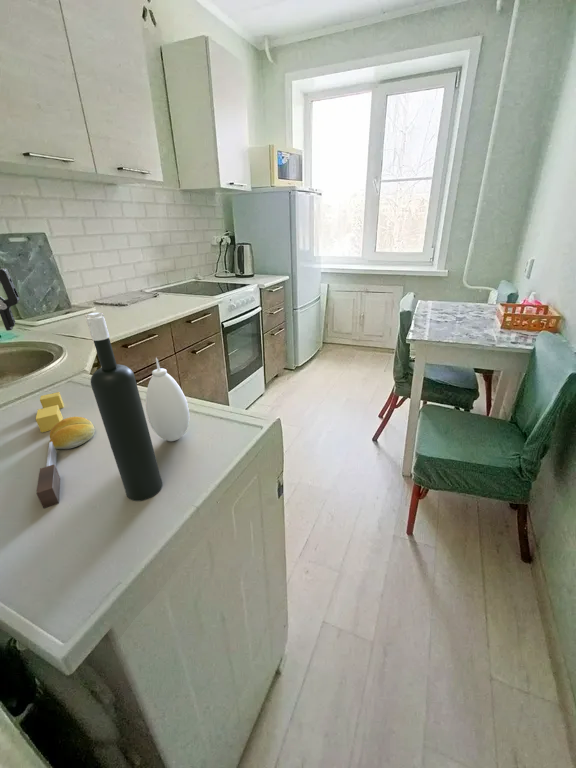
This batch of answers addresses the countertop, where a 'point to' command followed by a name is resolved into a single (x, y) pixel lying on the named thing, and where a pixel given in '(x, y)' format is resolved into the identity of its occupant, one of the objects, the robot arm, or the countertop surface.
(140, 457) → the wine bottle
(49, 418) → the butter block
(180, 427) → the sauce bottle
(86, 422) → the bread roll
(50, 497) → the knife
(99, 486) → the countertop surface
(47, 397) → the butter pat
